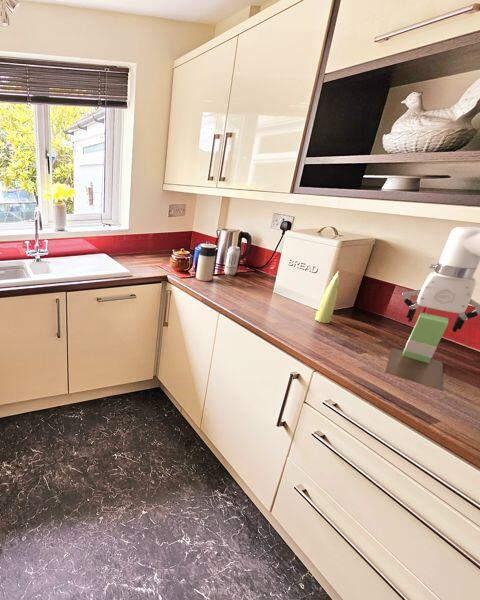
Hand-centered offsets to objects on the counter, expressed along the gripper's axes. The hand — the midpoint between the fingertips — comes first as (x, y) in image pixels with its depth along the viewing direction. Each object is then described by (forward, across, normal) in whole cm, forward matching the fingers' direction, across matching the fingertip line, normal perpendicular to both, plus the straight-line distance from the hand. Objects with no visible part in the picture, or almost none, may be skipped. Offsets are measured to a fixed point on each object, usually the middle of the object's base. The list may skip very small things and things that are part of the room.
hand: (431, 325), depth 102 cm
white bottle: (+10, -78, +44) cm, 90 cm away
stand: (+11, 0, -9) cm, 15 cm away
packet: (+4, 0, -4) cm, 5 cm away
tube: (+11, -28, +10) cm, 31 cm away
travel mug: (+10, -84, +25) cm, 88 cm away
